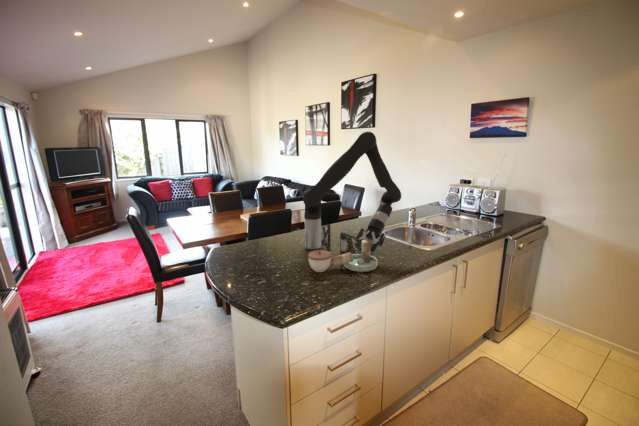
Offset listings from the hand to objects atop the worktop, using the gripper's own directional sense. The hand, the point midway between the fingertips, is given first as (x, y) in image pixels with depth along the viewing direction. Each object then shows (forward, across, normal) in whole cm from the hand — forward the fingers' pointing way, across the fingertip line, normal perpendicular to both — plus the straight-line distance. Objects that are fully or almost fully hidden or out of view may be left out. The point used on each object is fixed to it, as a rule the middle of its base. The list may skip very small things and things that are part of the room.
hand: (364, 249), depth 148 cm
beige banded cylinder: (+7, -1, -5) cm, 9 cm away
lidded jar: (+20, -11, -9) cm, 24 cm away
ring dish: (+7, 0, +3) cm, 8 cm away
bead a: (+3, 0, +5) cm, 6 cm away
